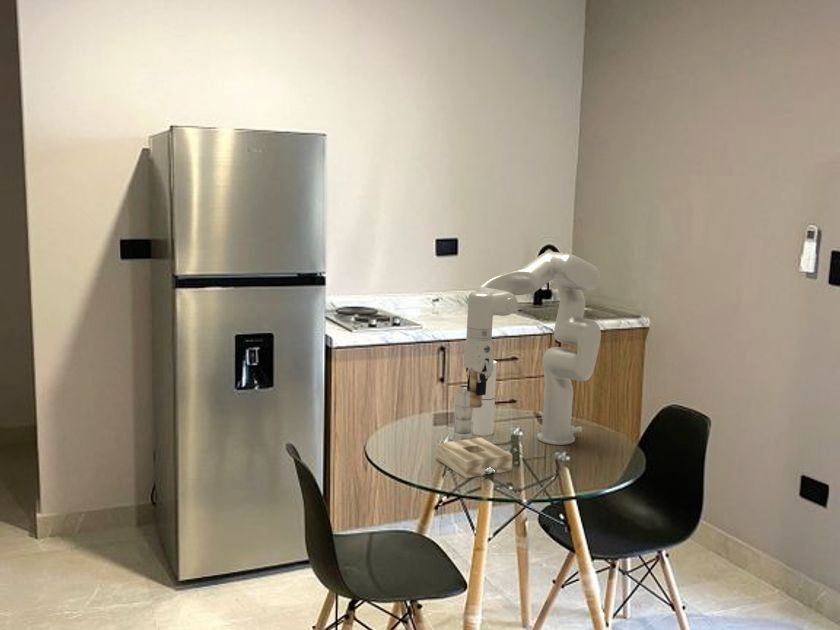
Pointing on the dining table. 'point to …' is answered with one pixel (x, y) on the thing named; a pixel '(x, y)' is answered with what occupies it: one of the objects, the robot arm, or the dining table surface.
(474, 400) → the peg
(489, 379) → the cylindrical container
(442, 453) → the block
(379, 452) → the dining table surface
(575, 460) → the dining table surface
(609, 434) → the dining table surface
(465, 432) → the plastic bottle
